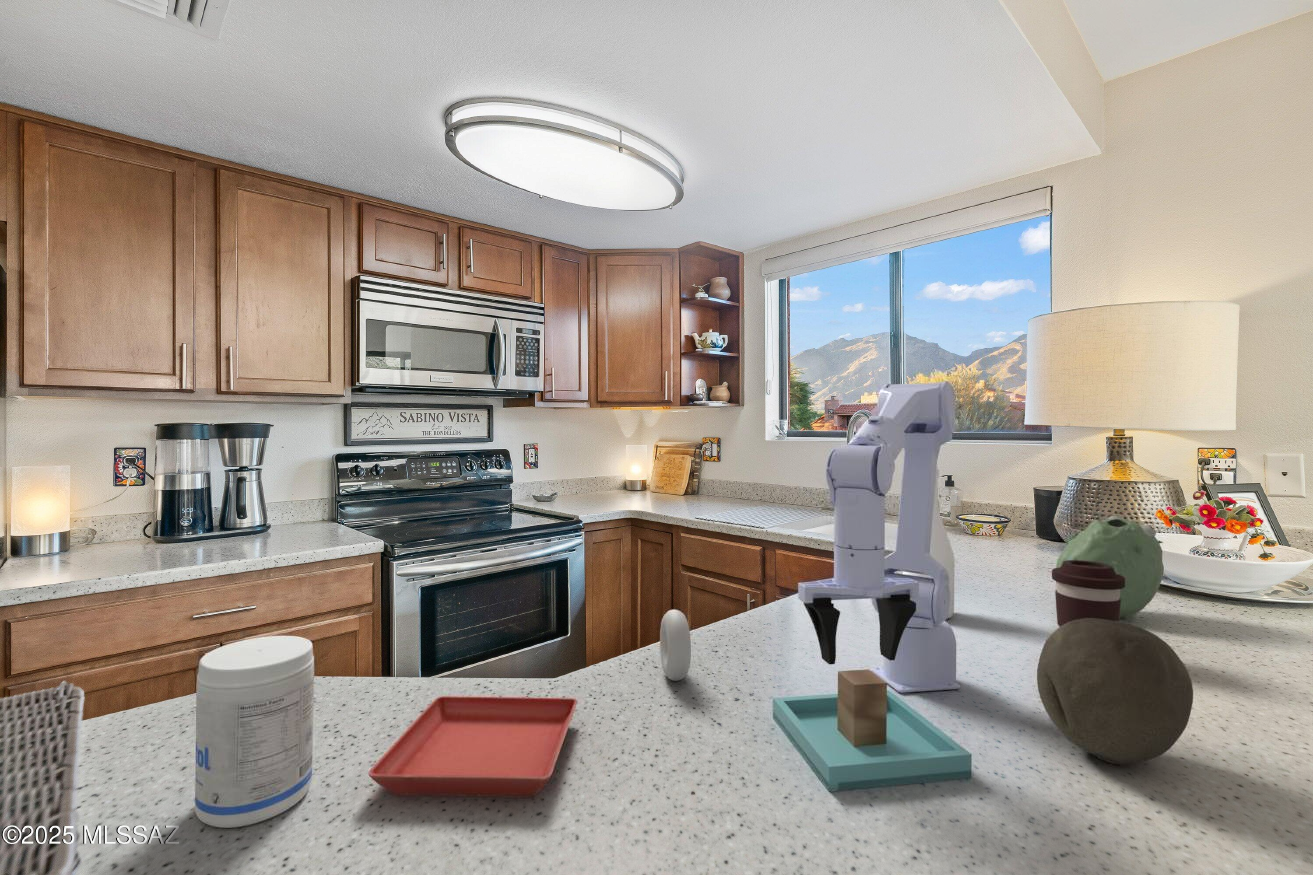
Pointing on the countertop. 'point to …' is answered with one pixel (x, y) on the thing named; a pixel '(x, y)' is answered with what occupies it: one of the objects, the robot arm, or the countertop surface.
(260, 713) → the supplement tub
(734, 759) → the countertop surface
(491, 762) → the plant saucer
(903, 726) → the tray
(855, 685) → the block
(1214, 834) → the countertop surface
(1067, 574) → the coffee cup
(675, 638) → the donut
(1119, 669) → the grey river stone
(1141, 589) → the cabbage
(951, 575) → the wine bottle
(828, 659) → the robot arm
